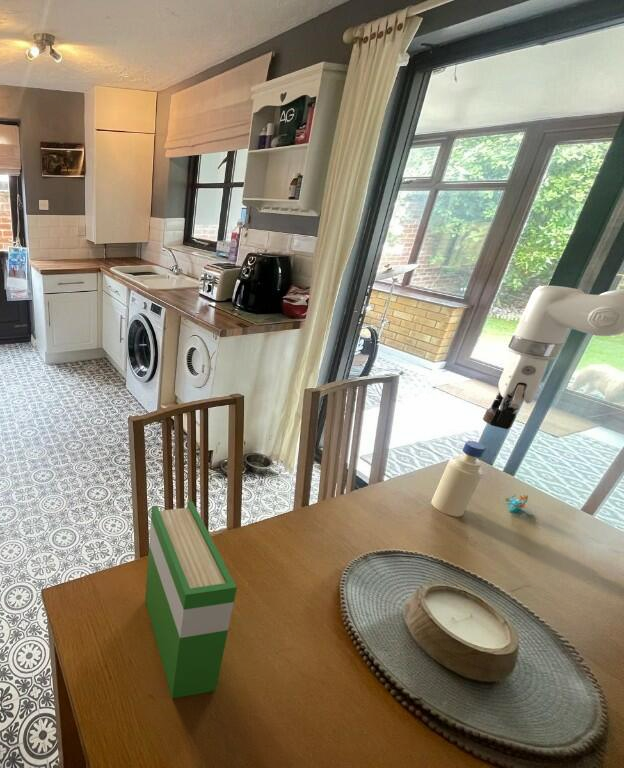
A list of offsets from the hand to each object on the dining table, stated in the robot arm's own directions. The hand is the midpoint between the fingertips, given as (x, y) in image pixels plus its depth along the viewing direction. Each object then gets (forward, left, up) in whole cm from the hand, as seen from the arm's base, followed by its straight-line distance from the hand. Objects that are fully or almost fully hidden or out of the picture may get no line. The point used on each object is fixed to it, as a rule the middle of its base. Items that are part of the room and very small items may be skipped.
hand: (498, 420), depth 93 cm
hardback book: (+40, +73, -28) cm, 88 cm away
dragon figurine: (-13, -13, -28) cm, 34 cm away
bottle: (+1, -2, -28) cm, 28 cm away
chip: (0, 0, 0) cm, 0 cm away
